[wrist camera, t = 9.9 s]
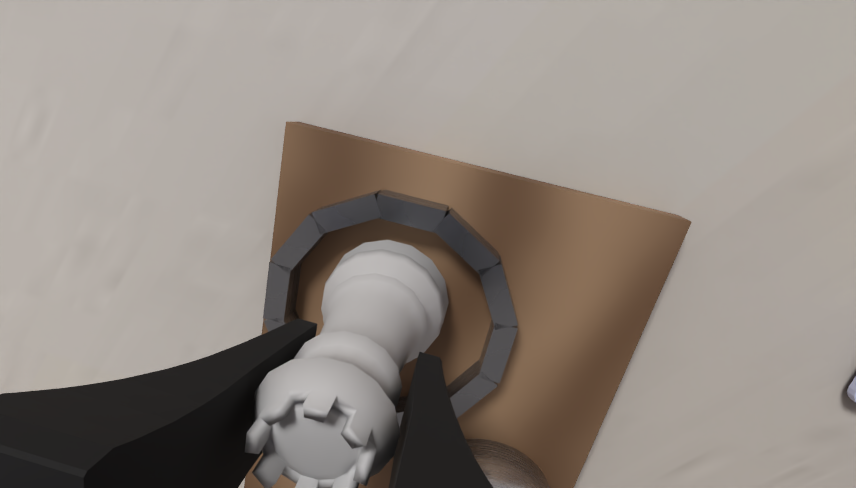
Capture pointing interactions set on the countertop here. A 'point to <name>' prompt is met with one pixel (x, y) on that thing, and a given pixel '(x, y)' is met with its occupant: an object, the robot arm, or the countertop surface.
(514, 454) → the silver metal dome
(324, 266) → the carrier board
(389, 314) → the rook chess piece
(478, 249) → the socket ring
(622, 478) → the countertop surface
